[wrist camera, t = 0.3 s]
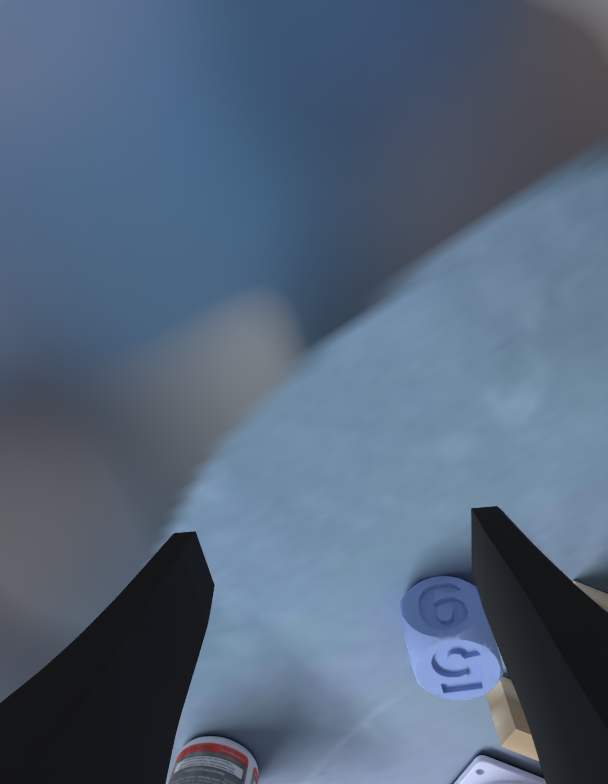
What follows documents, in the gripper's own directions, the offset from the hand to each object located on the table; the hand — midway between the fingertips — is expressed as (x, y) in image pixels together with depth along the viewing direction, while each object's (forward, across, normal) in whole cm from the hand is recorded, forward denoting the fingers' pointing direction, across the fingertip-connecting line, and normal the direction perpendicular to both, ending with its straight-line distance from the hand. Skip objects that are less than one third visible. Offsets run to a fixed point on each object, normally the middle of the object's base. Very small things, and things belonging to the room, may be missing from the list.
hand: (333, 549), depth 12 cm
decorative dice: (+9, -4, +13) cm, 16 cm away
